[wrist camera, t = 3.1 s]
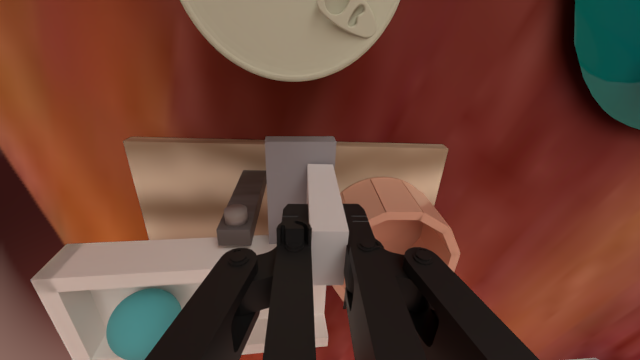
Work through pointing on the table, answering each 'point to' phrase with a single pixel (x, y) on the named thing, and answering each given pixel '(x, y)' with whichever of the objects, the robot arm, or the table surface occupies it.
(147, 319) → the ball
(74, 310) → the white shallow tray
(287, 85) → the table surface
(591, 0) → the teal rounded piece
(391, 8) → the can
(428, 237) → the cup
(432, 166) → the stand
